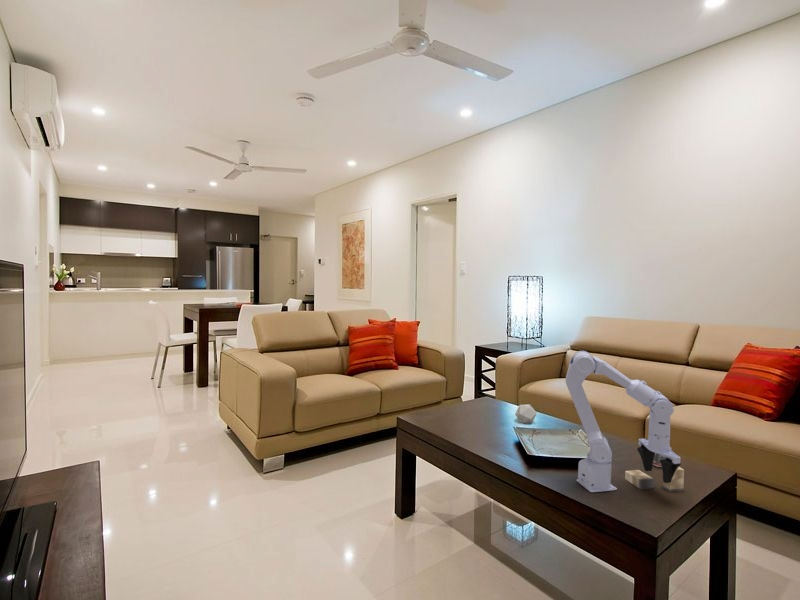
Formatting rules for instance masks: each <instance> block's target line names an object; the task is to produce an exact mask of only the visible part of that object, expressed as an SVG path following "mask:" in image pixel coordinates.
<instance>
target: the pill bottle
mask: <svg viewBox="0 0 800 600" xmlns="http://www.w3.org/2000/svg"><path fill="white" fill-rule="evenodd" d="M664 459H666V458H665V457H663V456H661V455H659V454H657V453H655V455H654V459H653V466H655V467H658V468H662V466H661V463H660V460H664Z"/></svg>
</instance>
